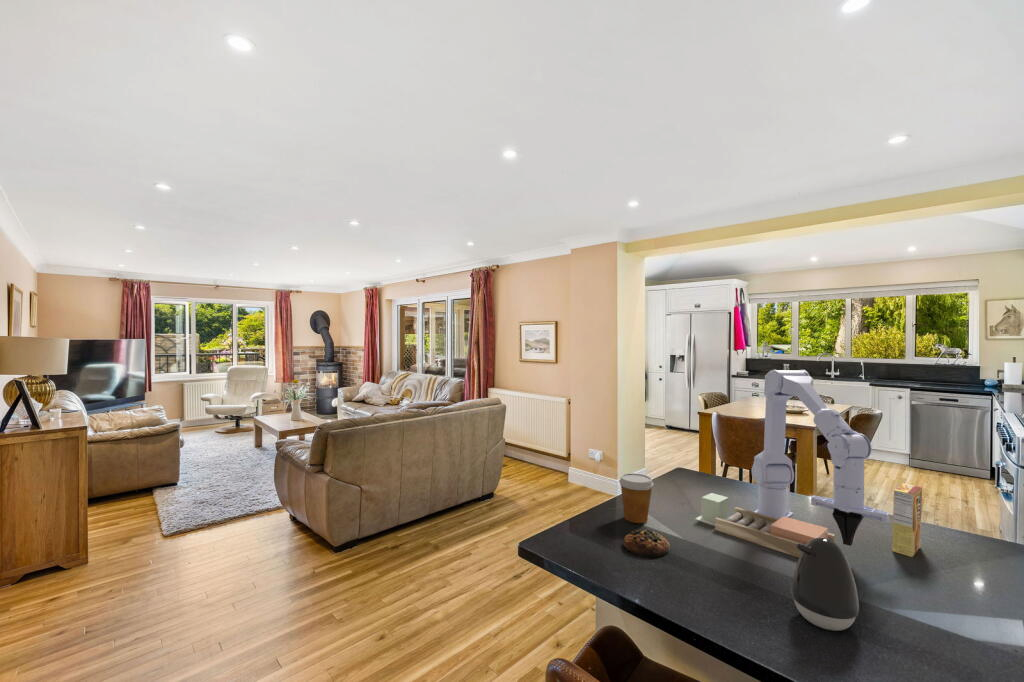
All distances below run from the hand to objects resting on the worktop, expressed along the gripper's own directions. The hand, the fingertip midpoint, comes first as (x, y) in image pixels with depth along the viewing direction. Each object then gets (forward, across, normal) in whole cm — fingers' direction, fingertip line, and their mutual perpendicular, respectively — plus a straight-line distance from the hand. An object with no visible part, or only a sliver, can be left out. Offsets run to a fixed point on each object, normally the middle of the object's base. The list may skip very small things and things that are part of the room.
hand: (847, 543), depth 105 cm
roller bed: (+4, -20, 0) cm, 20 cm away
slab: (+2, -10, 0) cm, 10 cm away
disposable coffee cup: (+4, -46, -17) cm, 49 cm away
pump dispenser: (+4, +3, -31) cm, 31 cm away
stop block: (+4, -32, +1) cm, 32 cm away
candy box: (+4, +8, +19) cm, 21 cm away
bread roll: (+5, -35, -30) cm, 46 cm away
